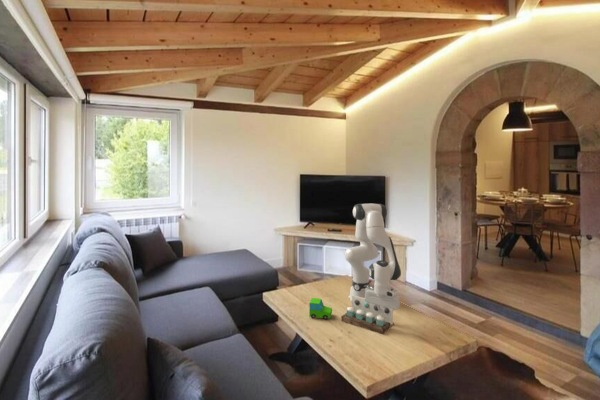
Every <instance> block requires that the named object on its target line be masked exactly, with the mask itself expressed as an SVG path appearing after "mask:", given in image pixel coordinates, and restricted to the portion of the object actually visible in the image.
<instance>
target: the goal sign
mask: <svg viewBox="0 0 600 400" xmlns="http://www.w3.org/2000/svg"><path fill="white" fill-rule="evenodd" d="M351 307H354V308H355V313H357V310H359V309H361V310H364V311H365V316H366V313H368V312H372V313H374V314H375V319H377V316H378V315H382V316H385V322H389V323H390V328H391V327H393V326H394V325H395V323H394V309H391V308H386V309H385V313H384V314H382V313H379V310H378V308H377V305H375V304H371V303H367V302H365V298H361V297H357V296H353V295H352V301H351ZM380 308H381V309H384V308H383V306H380Z"/></svg>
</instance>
